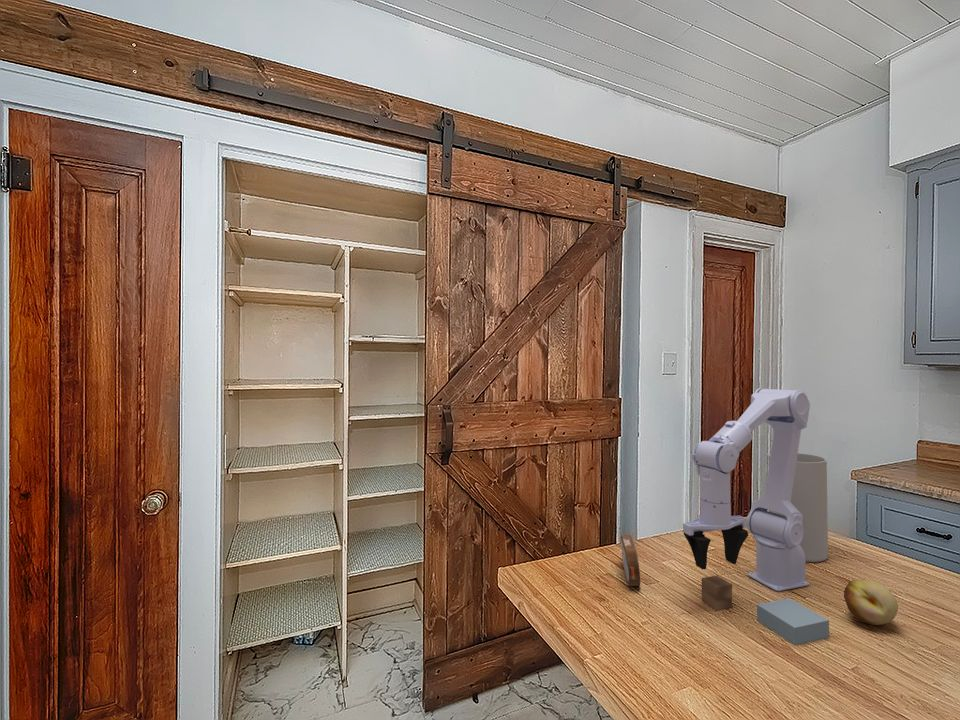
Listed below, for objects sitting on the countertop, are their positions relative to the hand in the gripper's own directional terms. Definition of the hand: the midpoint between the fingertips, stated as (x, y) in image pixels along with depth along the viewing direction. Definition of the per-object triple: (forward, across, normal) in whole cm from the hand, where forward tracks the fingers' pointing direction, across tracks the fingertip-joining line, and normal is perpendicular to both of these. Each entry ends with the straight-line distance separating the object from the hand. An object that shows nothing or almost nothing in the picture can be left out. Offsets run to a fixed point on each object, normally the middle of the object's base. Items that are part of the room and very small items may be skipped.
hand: (716, 564), depth 95 cm
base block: (+9, -7, +11) cm, 16 cm away
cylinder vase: (+9, -39, -14) cm, 42 cm away
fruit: (+9, -23, +14) cm, 28 cm away
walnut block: (+8, 0, 0) cm, 8 cm away
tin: (+9, +10, -16) cm, 21 cm away
